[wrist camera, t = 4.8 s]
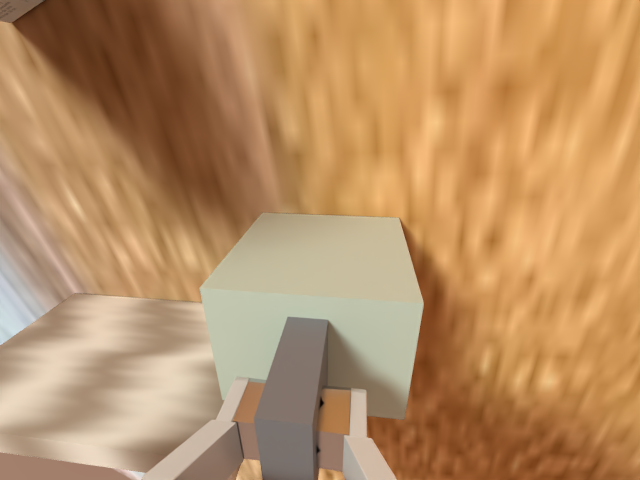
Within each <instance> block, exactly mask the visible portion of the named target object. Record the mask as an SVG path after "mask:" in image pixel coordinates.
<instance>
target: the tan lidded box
mask: <svg viewBox="0 0 640 480" xmlns="http://www.w3.org/2000/svg"><path fill="white" fill-rule="evenodd" d="M224 401H225V400H222V396H221V391H220V386H219V381H218V376H217V372H216V367H215V362H214V357H213V352H212V347H211V342H210V337H209V332H208V328H207V323H206V318H205V313H204V308H203V303H200V302H186V301H173V300H159V299H146V298H132V297H119V296H105V295H92V294H78V293H75V294H73V295H72V296H70V297H69V298H67V299H66V300H65V301H63V302H62V303H60V304H59V305H57V306H56V307H55V308H53V309H52V310H50V311H49V312H47V313H46V314H45V315H43V316H42V317H40V318H39V319H37V320H36V321H35V322H33V323H32V324H30V325H29V326H27V327H26V328H25V329H23V330H22V331H20V332H19V333H17V334H16V335H15V336H13V337H12V338H10V339H9V340H7V341H6V342H5V343H3V344H2V345H0V452H4V453H11V454H18V455H25V456H32V457H39V458H46V459H53V460H60V461H67V462H74V463H81V464H89V465H95V466H103V467H109V468H116V469H123V470H130V471H138V472H145V473H147V472H148V471H149V470H151V469H152V468H153V467H154V466H156V465H157V464H158V463H159V462H160V461H162V460H163V459H164V458H165V457H167V456H168V455H169V454H170V453H171V452H173V451H174V450H175V449H176V448H178V447H179V446H180V445H181V444H182V443H184V442H185V441H186V440H187V439H188V438H190V437H191V436H192V435H193V434H195V433H196V432H197V431H198V430H199V429H201V428H202V427H203V426H204V425H206V424H207V423H208V422H209V421H210V420H216V418H217V416H218V414H219V412H220V410H221V407H222V405H223V403H224ZM240 465H241V464H240ZM240 465H239V466H238V467H237V469H236V470H235V471H234V472H233V473H232V474H231V476H230V477H229V478H228V479H227V480H236V477H237V474H238V471H239V468H240Z"/></svg>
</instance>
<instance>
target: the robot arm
mask: <svg viewBox="0 0 640 480" xmlns="http://www.w3.org/2000/svg"><path fill="white" fill-rule="evenodd" d="M265 383H266V380H262V379H255V378H246V377H236V378H235V379H234V381H233V383H232V385H231V387H230V390H229V392H228V394H227V396H226V398H225V401H224V403H223V405H222V407H221V410H220V412H219V414H218V416H217V418H216V420H210V421H209V422H208V423H207V424H206V425H204V426H203V427H202V428H201V429H199V430H198V431H197V432H196V433H195V434H193V435H192V436H191V437H190V438H188V439H187V440H186V441H185V442H184V443H182V444H181V445H180V446H179V447H178V448H176V449H175V450H174V451H173V452H171V453H170V454H169V455H168V456H167V457H165V458H164V459H163V460H162V461H160V462H159V463H158V464H157V465H156V466H154V467H153V468H152V469H151V470H149V471H148V472H147V473H146V474H145V475H144V476H143V477H142V479H141V480H227V479H228V478H229V477H230V476H231V474H232V473H233V472H234V471H235V470H236V469H237V467H238V466H239V465H240V464H241V463H242V462H243V459H252V460H260V457H259V451H258V444H257V437H256V430H255V423H254V416H255V413H256V410H257V407H258V404H259V401H260V398H261V395H262V392H263V389H264V386H265ZM316 446H317V453H316V465H317V468H323V469H329V470H335V471H341V472H343V475H344V478H345V480H397V479H396V477H395V476H394V474H393V472H392V471H391V469H390V467H389V466H388V464H387V462H386V461H385V459H384V457H383V456H382V454H381V452H380V451H379V449H378V447H377V446H376V444H375V442H374V441H373V439H372V438H367V392H366V390H364V389H354V388H347V387H336V386H324V385H323V386H322V390H321V408H320V409H319V412H318V419H317V426H316Z"/></svg>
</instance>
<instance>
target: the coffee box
mask: <svg viewBox="0 0 640 480" xmlns="http://www.w3.org/2000/svg"><path fill="white" fill-rule="evenodd" d="M43 1H44V0H0V21H2V22H8V23H11V22H14V21H15V20H17V19H18V18H19V17H21V16H22V15H24V14H25V13H27V12H28V11H30V10H31V9H32V8H34V7H35V6H37V5H38V4H40V3H41V2H43Z"/></svg>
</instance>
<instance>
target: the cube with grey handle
mask: <svg viewBox="0 0 640 480" xmlns="http://www.w3.org/2000/svg"><path fill="white" fill-rule="evenodd" d="M200 293H201V298H202V303H203V308H204V313H205V318H206V323H207V328H208V332H209V337H210V342H211V347H212V352H213V357H214V362H215V367H216V372H217V376H218V381H219V386H220V391H221V396H222V400H225V398H226V396H227V394H228V392H229V390H230V387H231V385H232V383H233V381H234V379H235V378H236V377H246V378H255V379H262V380H266V383H265V386H264V389H263V392H262V395H261V398H260V401H259V404H258V407H257V410H256V413H255V416H254V423H255V430H256V437H257V444H258V451H259V457H260V464H261V471H262V478H263V480H318V474H319V468H317V465H316V453H317V446H316V426H317V419H318V412H319V409H320V408H321V390H322V386H323V385H324V386H336V387H347V388H354V389H364V390H366V392H367V416H373V417H382V418H391V419H400V420H404V419H405V413H406V408H407V402H408V396H409V390H410V384H411V378H412V372H413V366H414V360H415V354H416V348H417V342H418V336H419V330H420V324H421V318H422V312H423V306H424V302H423V299H422V295H421V292H420V288H419V285H418V281H417V278H416V274H415V271H414V267H413V264H412V261H411V257H410V254H409V250H408V247H407V243H406V240H405V236H404V233H403V229H402V226H401V223H400V219H399V218H391V217H365V216H339V215H313V214H287V213H261V215H260V216H259V217H258V218H257V219H256V221H255V222H254V223H253V224H252V226H251V227H250V228H249V229H248V230H247V232H246V233H245V234H244V235H243V236H242V238H241V239H240V240H239V241H238V242H237V244H236V245H235V246H234V247H233V248H232V250H231V251H230V252H229V253H228V254H227V256H226V257H225V258H224V259H223V260H222V262H221V263H220V264H219V265H218V266H217V268H216V269H215V270H214V271H213V272H212V274H211V275H210V276H209V277H208V278H207V280H206V281H205V282H204V283H203V284H202V286H201V287H200Z"/></svg>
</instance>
